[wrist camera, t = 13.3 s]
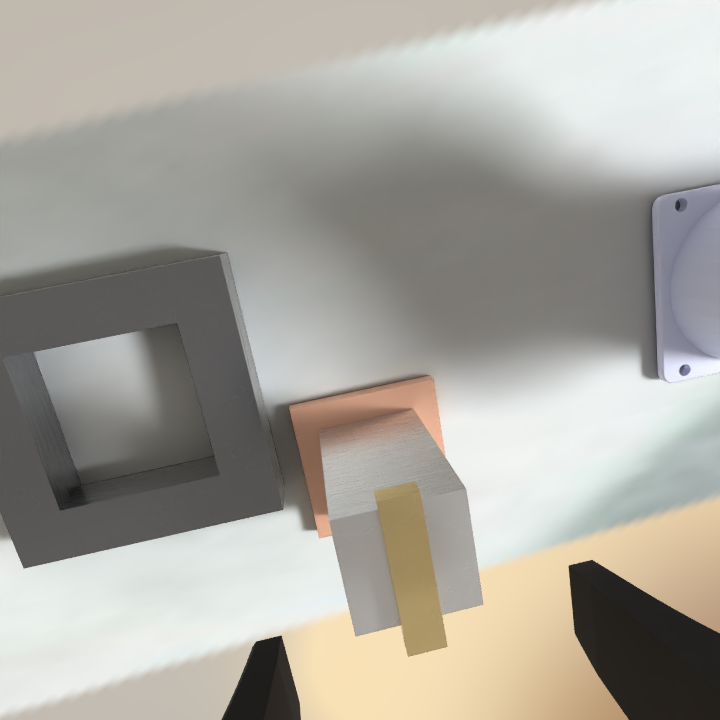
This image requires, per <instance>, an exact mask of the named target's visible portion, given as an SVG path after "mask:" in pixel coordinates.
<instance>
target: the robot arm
mask: <svg viewBox="0 0 720 720" xmlns="http://www.w3.org/2000/svg"><path fill="white" fill-rule="evenodd" d="M677 200H679V201H680V208H679V210H678V211H677V210H676V208H675V204H676V202H677ZM652 222H653V250H654V278H655V305H656V333H657V361H658V375H659V377H660V379H661V380H663V381H666V382H668V383H676V382H681V381H685V380H690V379H694V378H699V377H703V376H708V375H712V374H717V373H720V184H717V185H712V186H707V187H702V188H697V189H692V190H687V191H681V192H676V193H671V194H666V195H662V196H660V197H658V198H657V199H656V200H655V202H654V204H653V207H652ZM682 365H684V369H683V371H682V372H681V373H679V369H680V367H681V366H682ZM569 574H570V575H569V576H570V587H571V597H572V608H573V619H574V630H575V634H576V636H577V638H578V640H579V642H580V644H581V646H582V647H583V649H584V651H585V653H586V655H587V657H588V659H589V660H590V662H591V664H592V666H593V667H594V669H595V671H596V673H597V674H598V676H599V677H600V679H601V680H602V682H603V683H604V685H605V686H606V687H607V689H608V690H609V692H610V693H611V695H612V696H613V698H614V699H615V700H616V702H617V703H618V705H619V706H620V708H621V709H622V710H623V712H624V713H625V715H626V716H627V717H628V719H629V720H720V633H718V632H716V631H714V630H712V629H710V628H708V627H706V626H704V625H702V624H700V623H699V622H696V621H695V620H693V619H691V618H689V617H687V616H686V615H684V614H682V613H680V612H678V611H677V610H675V609H673V608H671V607H669V606H668V605H666V604H664V603H663V602H661V601H659V600H657V599H656V598H654V597H652V596H651V595H649V594H647V593H646V592H644V591H642V590H640V589H639V588H637V587H636V586H634V585H632V584H630V583H629V582H627V581H626V580H624V579H622V578H621V577H619V576H618V575H616V574H614V573H613V572H611V571H609V570H608V569H606V568H604V567H603V566H601V565H600V564H598V563H596V562H595V561H593V560H590V561H586V562H582V563H578V564H573V565H569ZM222 720H301V716H300V703H299V699H298V695H297V691H296V687H295V684H294V680H293V677H292V673H291V669H290V665H289V662H288V658H287V654H286V651H285V647H284V643H283V640H282V636H278V637H273V638H269V639H265V640H261V641H257V642H256V643H255V644H254V646H253V647H252V650H251V653H250V655H249V658H248V660H247V663H246V666H245V668H244V670H243V673H242V675H241V678H240V680H239V682H238V685H237V687H236V689H235V692H234V694H233V696H232V698H231V701H230V703H229V705H228V707H227V709H226V711H225V713H224V716H223V718H222Z"/></svg>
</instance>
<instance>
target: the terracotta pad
mask: <svg viewBox="0 0 720 720" xmlns="http://www.w3.org/2000/svg"><path fill="white" fill-rule="evenodd" d="M412 408H414V410H415V412H416V413H417V415H418V416H419V418H420V419H421V421H422V422H423V424H424V425H425V427H426V428H427V430H428V431H429V433H430V434H431V436H432V437H433V439H434V441H435V442H436V444H437V445H438V447H439V448H440V450H441V451H442V453H443V454H444V456H445V451H444V444H443V438H442V431H441V425H440V418H439V412H438V405H437V399H436V392H435V386H434V379H433V378H432V377H431V376H425V377H420V378H416V379H411V380H406V381H402V382H397V383H392V384H387V385H383V386H378V387H373V388H369V389H364V390H359V391H355V392H350V393H345V394H341V395H336V396H331V397H327V398H322V399H317V400H312V401H308V402H303V403H298V404H294V405H290V414H291V419H292V423H293V427H294V432H295V436H296V440H297V444H298V449H299V453H300V457H301V462H302V466H303V470H304V474H305V479H306V483H307V487H308V492H309V496H310V500H311V504H312V509H313V513H314V517H315V522H316V526H317V530H318V534H319V538H323V537H328V536H332V532H331V528H330V523H329V517H328V508H327V499H326V490H325V481H324V472H323V463H322V454H321V445H320V436H319V429H322V428H327V427H331V426H336V425H340V424H345V423H349V422H354V421H358V420H363V419H367V418H372V417H376V416H381V415H385V414H390V413H394V412H399V411H403V410H408V409H412Z"/></svg>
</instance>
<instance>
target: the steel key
mask: <svg viewBox="0 0 720 720" xmlns="http://www.w3.org/2000/svg"><path fill="white" fill-rule="evenodd" d="M319 436H320V445H321V454H322V463H323V472H324V481H325V490H326V499H327V508H328V517H329V523H330V528H331V532H332V536H333V541H334V545H335V549H336V554H337V558H338V562H339V567H340V571H341V575H342V580H343V584H344V588H345V593H346V597H347V601H348V606H349V610H350V614H351V619H352V623H353V627H354V632H355V636H360V635H364V634H368V633H371V632H376V631H380V630H383V629H387V628H391V627H396V626H400V625H401V628H402V633H403V638H404V642H405V647H406V650H407V654H408V656H413V655H417V654H421V653H425V652H429V651H432V650H437V649H441V648H445V647H447V641H446V635H445V630H444V624H443V618H442V615H444V614H447V613H452V612H456V611H460V610H463V609H468V608H472V607H476V606H480V605H483V599H482V592H481V585H480V578H479V572H478V565H477V558H476V552H475V545H474V538H473V532H472V525H471V518H470V512H469V505H468V498H467V492H466V488H465V486H464V485H463V483H462V482H461V480H460V479H459V477H458V476H457V474H456V473H455V471H454V470H453V468H452V467H451V465H450V463H449V462H448V460H447V459H446V457H445V456H444V454H443V453H442V451H441V450H440V448H439V447H438V445H437V444H436V442H435V441H434V439H433V437H432V436H431V434H430V433H429V431H428V430H427V428H426V427H425V425H424V424H423V422H422V421H421V419H420V418H419V416H418V415H417V413H416V412H415V410H414V408H412V409H408V410H403V411H399V412H394V413H390V414H385V415H381V416H376V417H372V418H367V419H363V420H358V421H354V422H349V423H345V424H340V425H336V426H331V427H327V428H322V429H319Z"/></svg>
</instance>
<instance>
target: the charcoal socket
mask: <svg viewBox="0 0 720 720" xmlns="http://www.w3.org/2000/svg"><path fill="white" fill-rule="evenodd" d="M175 323H177V324H178V328H179V331H180V335H181V339H182V342H183V346H184V349H185V353H186V356H187V360H188V364H189V367H190V371H191V374H192V378H193V381H194V385H195V389H196V392H197V396H198V399H199V403H200V406H201V410H202V413H203V417H204V421H205V424H206V428H207V431H208V435H209V438H210V442H211V446H212V449H213V453H214V457H210V458H205V459H200V460H196V461H191V462H187V463H182V464H177V465H173V466H168V467H164V468H159V469H154V470H150V471H145V472H141V473H136V474H132V475H127V476H122V477H118V478H113V479H109V480H104V481H99V482H95V483H90V484H86V485H81V484H80V481H79V478H78V475H77V473H76V470H75V467H74V464H73V462H72V459H71V456H70V453H69V450H68V448H67V445H66V442H65V439H64V436H63V434H62V431H61V428H60V425H59V423H58V420H57V417H56V414H55V411H54V409H53V406H52V403H51V400H50V397H49V395H48V392H47V389H46V386H45V384H44V381H43V378H42V375H41V372H40V370H39V367H38V364H37V361H36V358H35V356H34V353H33V352H35V351H40V350H45V349H50V348H55V347H60V346H65V345H70V344H75V343H80V342H85V341H90V340H95V339H100V338H105V337H110V336H115V335H120V334H125V333H130V332H135V331H140V330H145V329H150V328H155V327H160V326H165V325H170V324H175ZM283 503H284V482H283V478H282V474H281V470H280V466H279V462H278V458H277V454H276V450H275V446H274V442H273V438H272V434H271V430H270V425H269V421H268V417H267V413H266V409H265V405H264V401H263V397H262V393H261V389H260V385H259V381H258V377H257V373H256V369H255V365H254V360H253V356H252V352H251V348H250V344H249V340H248V336H247V332H246V328H245V324H244V320H243V316H242V312H241V308H240V304H239V299H238V295H237V291H236V287H235V283H234V279H233V275H232V271H231V267H230V263H229V259H228V255H227V253H223V254H217V255H212V256H207V257H202V258H197V259H191V260H186V261H181V262H176V263H170V264H165V265H160V266H155V267H150V268H144V269H139V270H134V271H129V272H124V273H118V274H113V275H108V276H103V277H97V278H92V279H87V280H82V281H77V282H71V283H66V284H61V285H56V286H51V287H45V288H40V289H35V290H30V291H25V292H19V293H14V294H9V295H4V296H0V512H1V514H2V517H3V519H4V522H5V524H6V526H7V529H8V531H9V534H10V536H11V539H12V541H13V544H14V546H15V548H16V551H17V553H18V556H19V558H20V561H21V563H22V565H23V568H28V567H33V566H37V565H42V564H46V563H50V562H55V561H59V560H64V559H68V558H72V557H77V556H81V555H86V554H90V553H94V552H99V551H103V550H108V549H112V548H116V547H121V546H125V545H130V544H134V543H138V542H143V541H147V540H152V539H156V538H161V537H165V536H169V535H174V534H178V533H183V532H187V531H191V530H196V529H200V528H205V527H209V526H213V525H218V524H222V523H227V522H231V521H235V520H240V519H244V518H249V517H253V516H257V515H262V514H266V513H271V512H275V511H280V510H283Z"/></svg>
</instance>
